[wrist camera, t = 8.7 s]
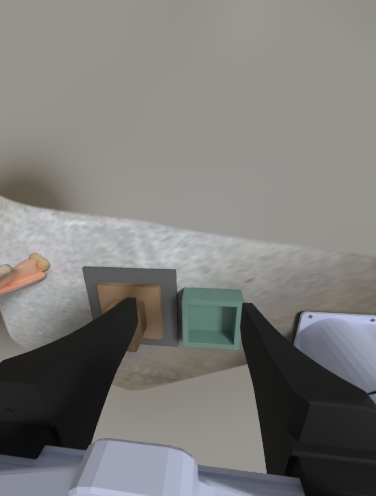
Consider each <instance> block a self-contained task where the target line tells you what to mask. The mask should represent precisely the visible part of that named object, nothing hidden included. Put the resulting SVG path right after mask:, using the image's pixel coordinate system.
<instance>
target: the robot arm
mask: <svg viewBox="0 0 376 496" xmlns="http://www.w3.org/2000/svg"><path fill="white" fill-rule="evenodd" d="M309 315H311V316H309ZM308 316H309V317H308ZM138 322H139V321H138V312H137V304H136V297H127V298H125V299H124V300H122V301H121V302H119V303H118V304H117V305H115V306H114V307H112V308H111V309H110V310H108V311H107V312H105V313H104V314H103V315H101V316H99V317H98V318H96V319H95V320H93V321H92V322H90V323H89V324H87V325H85V326H84V327H82V328H80V329H78V330H76V331H75V332H73V333H71V334H69V335H67V336H65V337H63V338H60V339H58V340H56V341H54V342H52V343H49V344H47V345H45V346H42V347H40V348H37V349H35V350H32V351H29V352H27V353H24V354H21V355H18V356H15V357H12V358H9V359H6V360H3V361H2V362H1V363H0V496H376V315H364V314H344V313H325V312H302V313H301V315H300V319H299V323H298V328H297V332H296V336H295V341H294V345H293V344H291V343H290V342H289V341H288V340H287V339H286V338H284V337H283V336H282V335H281V334H280V333H279V332H278V331H277V330H276V329H275V328H274V327H273V326H272V325H271V324H270V323H269V322H268V321H267V320H266V318H265V317H264V316H263V315H262V314H261V313H260V312H259V311H258V309H257V308H256V307H255V306H254V305H253V304H252V303H242V312H241V321H240V333H241V339H242V345H243V349H244V352H245V356H246V360H247V363H248V367H249V371H250V375H251V378H252V383H253V387H254V393H255V398H256V404H257V410H258V415H259V422H260V428H261V435H262V441H263V448H264V455H265V462H266V470H267V474H263V473H255V472H248V471H240V470H233V469H225V468H217V467H209V466H202V465H196V462H195V460H194V458H193V457H192V456H191V455H190V454H189V453H187V452H186V451H184V450H183V449H180V448H177V447H173V446H169V445H160V444H153V443H144V442H136V441H128V440H120V439H110V438H109V439H99V440H97V441H95V442H94V443H92V444H91V442H92V439H93V436H94V432H95V429H96V426H97V423H98V420H99V417H100V414H101V411H102V409H103V406H104V403H105V400H106V397H107V395H108V391H109V389H110V386H111V384H112V381H113V379H114V376H115V374H116V371H117V369H118V367H119V365H120V363H121V361H122V359H123V357H124V355H125V353H126V351H127V349H128V347H129V345H130V343H131V341H132V339H133V336H134V334H135V331H136V328H137V325H138Z"/></svg>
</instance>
